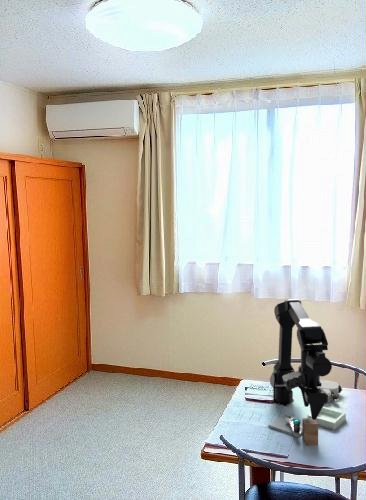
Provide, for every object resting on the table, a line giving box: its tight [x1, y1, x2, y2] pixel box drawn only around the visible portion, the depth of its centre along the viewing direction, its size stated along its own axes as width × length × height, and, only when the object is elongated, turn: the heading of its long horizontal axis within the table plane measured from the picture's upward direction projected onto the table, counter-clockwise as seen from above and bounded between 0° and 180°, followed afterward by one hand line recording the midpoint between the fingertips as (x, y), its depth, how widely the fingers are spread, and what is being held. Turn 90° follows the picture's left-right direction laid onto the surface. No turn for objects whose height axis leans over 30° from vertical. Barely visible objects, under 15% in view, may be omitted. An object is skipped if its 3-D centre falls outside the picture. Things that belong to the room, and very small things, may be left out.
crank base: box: [267, 413, 302, 437], centre depth 158 cm, size 11×11×1 cm
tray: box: [307, 406, 347, 431], centre depth 161 cm, size 10×10×2 cm
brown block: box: [301, 417, 319, 446], centre depth 147 cm, size 4×4×7 cm
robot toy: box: [317, 379, 343, 403], centre depth 181 cm, size 12×4×15 cm
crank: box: [285, 415, 302, 438], centre depth 154 cm, size 12×4×5 cm, turn 179°
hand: (310, 412), depth 146 cm, fingers open, 9 cm apart
